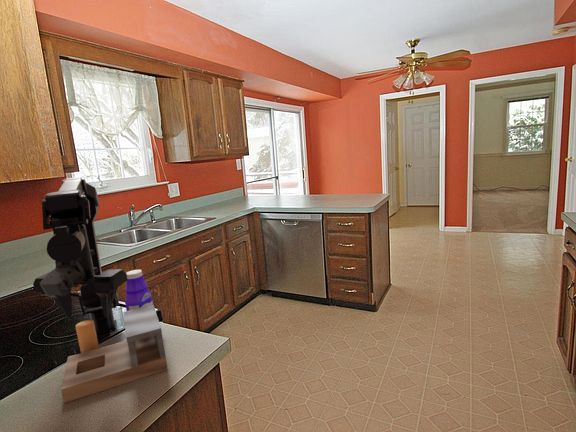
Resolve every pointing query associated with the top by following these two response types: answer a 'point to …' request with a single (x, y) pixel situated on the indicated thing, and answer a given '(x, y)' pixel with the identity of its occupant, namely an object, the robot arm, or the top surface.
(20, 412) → the top surface
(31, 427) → the top surface
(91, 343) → the peg
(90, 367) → the socket block
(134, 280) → the bottle
